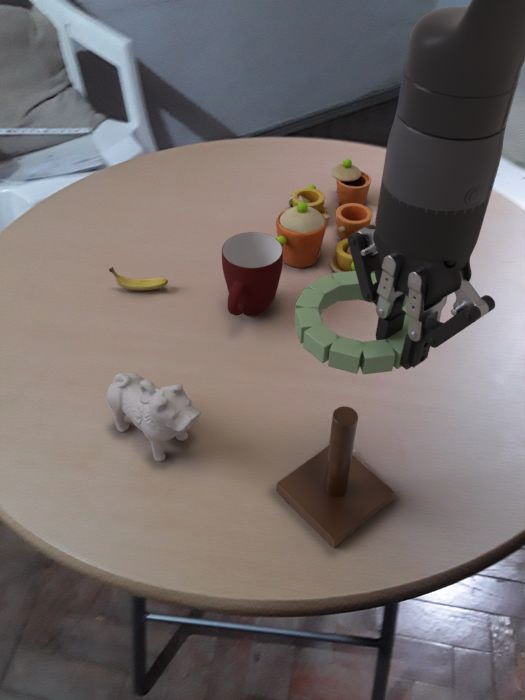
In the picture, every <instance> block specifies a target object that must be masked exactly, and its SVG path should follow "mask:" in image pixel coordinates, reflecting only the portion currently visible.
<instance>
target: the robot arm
mask: <svg viewBox="0 0 525 700" xmlns="http://www.w3.org/2000/svg"><path fill="white" fill-rule="evenodd" d="M524 64H525V0H470V2H469V4H468V6H453V7H452V6H451V7H443V8H438V9H434V10H432V11H429V12H428V13H425V14H424V15H423V16H421V17H420V18H419V19H418V20H417V21H416V23H415V24H414V26H413V27H412V29H411V32H410V35H409V37H408V41H407V44H406V48H405V54H404V60H403V67H402V74H401V82H400V86H399V92H398V93H399V94H398V99H397V105H396V110H395V114H394V115H395V116H394V119H393V122H392V126H391V130H390V131H389V135H388V139H387V145H386V150H385V157H384V162H383V168H382V169H383V170H382V175H381V183H380V189H379V196H378V203H377V207H376V208H377V209H376V215H375V216H376V217H375V221H374V224H370V225H369V226H367V227H365V228H363V229H361V230H359V231H357V232H355V233H354V234H352V235H350V236H348V244H349V248H350V252H351V256H352V259H353V263H354V267H355V271H356V275H357V278H358V282H359V286H360V290H361V293H362V297H363V298H364V300H365V301H364V302H367V303H371V301H373V303H372V304H374V305H375V306H376V308H375V312H376V315H377V316H378V318H377V323H376V330H375V340H383V339H387V338H388V337H390V336H392V335H393V334H395V333H396V332H398V331H400V330H401V329H403V324H404V320H405V315H406V314H407V315H408V316H410V318H409V326H408V334H407V335H406V336H405V341H404V346H403V350H402V356H401V361H400V365H401V366H402V367H401V368H403V369H405V370H409V369H411V368H413V369H414V368H415V367H417V366H419V365H420V364H422V363H423V362H424V361H426V360H427V359H428V357H429V353H430V349H431V348H433V349H436V348H438V347H439V346H441V345H442V344H444V343H445V342H447V341H448V340H450V339H452V338H454V336H456V335H458V334H459V333H461V332H462V331H464V330H465V329H466V328H468V327H469V326H471V325H472V324H474V323H475V322H477V321H478V320H480V319H481V318H483V317H484V316H485V315H487V314H488V313H490V312H491V311H493V310H494V309H495V308H496V301H495V299H494V298H493V297H492V296H490V295H488V294H486V295H485V294H484V295H483V296H480V294H479V293H478V291H476V289H475V288H474V286H473V285H472V284H471V282H470V281H471V280H472V267H471V256H472V254H473V251H474V250H475V248H476V246H477V243H478V240H479V237H480V234H481V230H482V227H483V223H484V220H485V216H486V213H487V210H488V206H489V202H490V198H491V195H492V191H493V188H494V184H495V181H496V177H497V174H498V171H499V167H500V163H501V159H502V154H503V149H504V141H505V140H504V139H505V133H506V128H507V123H508V120H509V117H510V114H511V110H512V107H513V103H514V100H515V95H516V92H517V88H518V85H519V81H520V78H521V73H522V70H523V66H524ZM371 273H375V277H376V281H377V282H376V283H374V284H373V282H372V278H371ZM452 294H455V301H454V302H453V305H452V308H453V309H451V310H450V313H451V315H452V317H450V318H448V319H447V320H446V321H445V322H441V317H442V311H443V308H444V307H445V306H446V304H447V300H448V296H450V295H452ZM407 300H408V302H407ZM406 303H407V311H406V312H405V311H404V310H402V308H403V307H404V306H405V305H406Z"/></svg>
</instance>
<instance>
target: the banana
mask: <svg viewBox="0 0 525 700" xmlns="http://www.w3.org/2000/svg"><path fill="white" fill-rule="evenodd" d="M108 272H109V273H111V274H112V275H113V276H114V278H115V282H116V284H117V285H118V286H119V287H120V288H123V289H126V290H128V291H129V290H130V291H152V290H158V289H161V288H164V287H165V286H166V285H167V284H168V283H169V280H168V279H167V278H166V277H151V278H131V277H127V276H123V275H120V274H118V273H117V272H116V271H115V268H114V267H113V266H112V267H109V268H108Z"/></svg>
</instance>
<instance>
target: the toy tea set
mask: <svg viewBox="0 0 525 700" xmlns="http://www.w3.org/2000/svg"><path fill="white" fill-rule="evenodd" d="M330 174H331V176H332V177H333V178H334V179H335V180H336V190H337V191H336V195H337V201H338V204H340V205H339V206H338V207H337V208H336V210H335V217H336V218H335V219H336V230H337V235H338V236H339V237H340V238H341V239H342V240H340V241H338V242H337V243H336V245H335V253H333V254H332V256H331V257H330V260H329V265H330V268H331V270H333V272H334V273H337V272H348V271H355V267H354V263H353V259H352V256H351V252H350V248H349V244H348V236H350V235H352V234H354V233H355V232H357V231H359V230H361V229H363V228H365V227H367V226H369V225H371V221H372V218H373V212H372V210H371V208H370V207H369V206H366V205H365V203H366V200H367V196H368V193H369V190H370V188H371V185H372V184H371V183H372V178H371V176H370V175H369V174H368V173H367V172H365V171H362V170H360V168H359V167H357V166H356V165H354V164H353V162H352V160H351V159H350V158H345V159H343V161H342V163H339V164H337V165H335V166H334V167H332V169H331V171H330ZM325 198H326V197H325V194H324V193H323V192H322V191H321V190H320V189H317V186H316V185H314V184H309V185H308V186H307V187H301V188H298V189H296V190H295V191H293V192H292V194H291V196H290V198H289V200H288V206H287V207H286V209H285V210H283V211H282V212H280V213H279V214H278V215H277V218H276V220H275V225H276V233H277V237H276V239H277V240H278V241H279V242H280V244H281V245H282V249H283V263H285V264H286V265H288V266H291V267H293V268H308V267H310V266H312V265H314V264H315V263H316V262H317V261H318V259H319V256H320V253H321V249H322V245H323V241H324V237H325V233H326V229H327V225H328V224H327V223H328V222H327V220H329V219H330V215H329V214H327V212H328V211H327V208H326V207H325V205H324V203H325Z"/></svg>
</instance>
